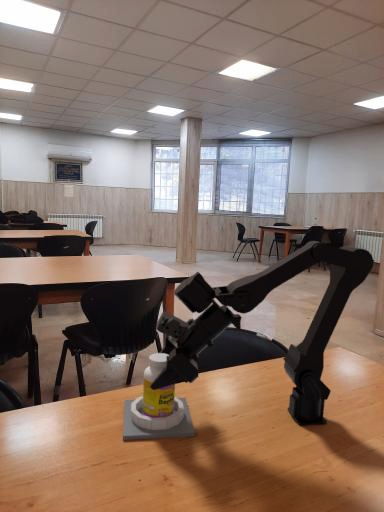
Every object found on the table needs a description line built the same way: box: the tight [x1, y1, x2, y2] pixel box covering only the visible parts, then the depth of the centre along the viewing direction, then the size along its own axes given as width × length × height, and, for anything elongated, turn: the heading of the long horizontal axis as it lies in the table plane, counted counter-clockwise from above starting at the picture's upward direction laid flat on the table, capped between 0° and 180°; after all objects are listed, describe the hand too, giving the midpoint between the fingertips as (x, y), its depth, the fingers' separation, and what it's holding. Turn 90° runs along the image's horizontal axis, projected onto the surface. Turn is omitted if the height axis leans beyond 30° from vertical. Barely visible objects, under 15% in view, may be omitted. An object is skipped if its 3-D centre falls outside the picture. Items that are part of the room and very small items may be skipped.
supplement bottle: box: [142, 352, 176, 418], centre depth 80 cm, size 7×7×13 cm
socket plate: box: [122, 395, 196, 441], centre depth 81 cm, size 14×14×3 cm
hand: (151, 378), depth 80 cm, fingers open, 9 cm apart
